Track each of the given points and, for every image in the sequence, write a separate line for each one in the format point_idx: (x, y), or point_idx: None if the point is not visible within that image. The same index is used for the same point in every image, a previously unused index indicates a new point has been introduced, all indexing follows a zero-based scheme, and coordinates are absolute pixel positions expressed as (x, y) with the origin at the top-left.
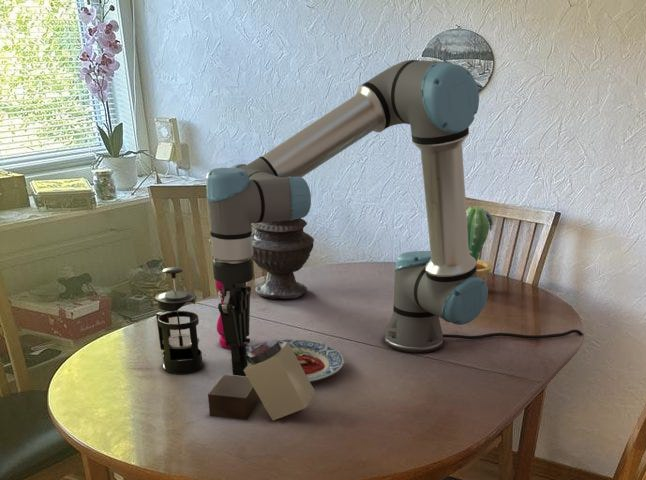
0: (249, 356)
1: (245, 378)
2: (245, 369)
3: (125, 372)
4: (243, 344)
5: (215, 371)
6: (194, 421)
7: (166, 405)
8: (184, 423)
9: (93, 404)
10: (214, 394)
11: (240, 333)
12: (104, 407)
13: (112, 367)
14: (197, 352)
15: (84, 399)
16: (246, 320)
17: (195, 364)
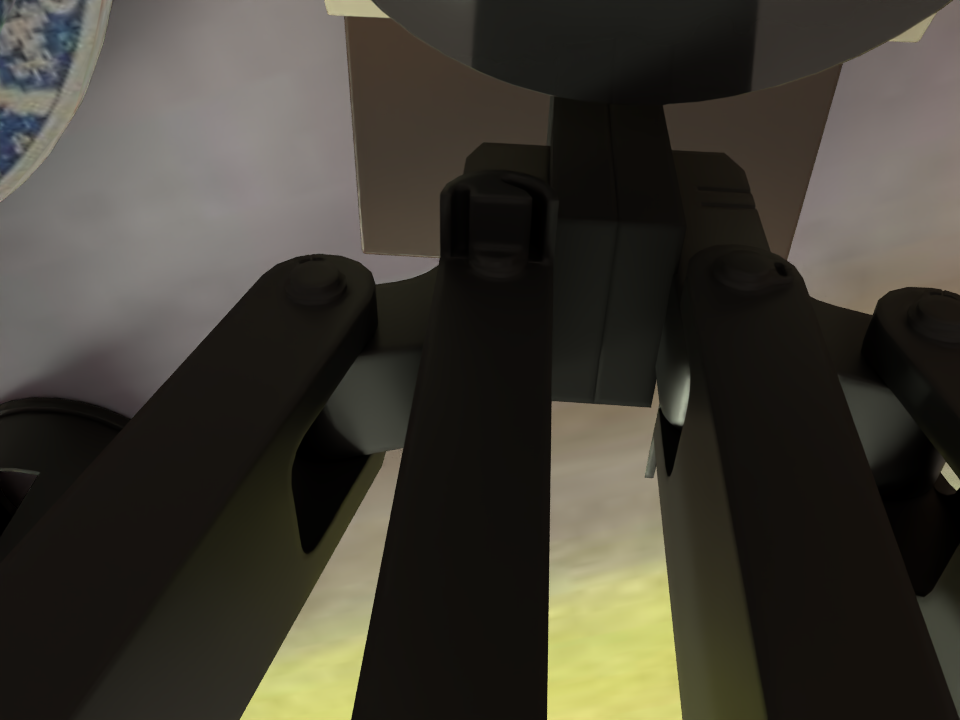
0: (816, 41)
1: (383, 48)
2: (928, 17)
3: (281, 659)
4: (600, 246)
5: (48, 320)
6: (832, 250)
7: (610, 441)
8: (860, 298)
9: (641, 677)
10: (790, 228)
11: (837, 434)
12: (668, 643)
13: (253, 702)
14: (31, 497)
15: (596, 708)
16: (247, 502)
17: (94, 450)
